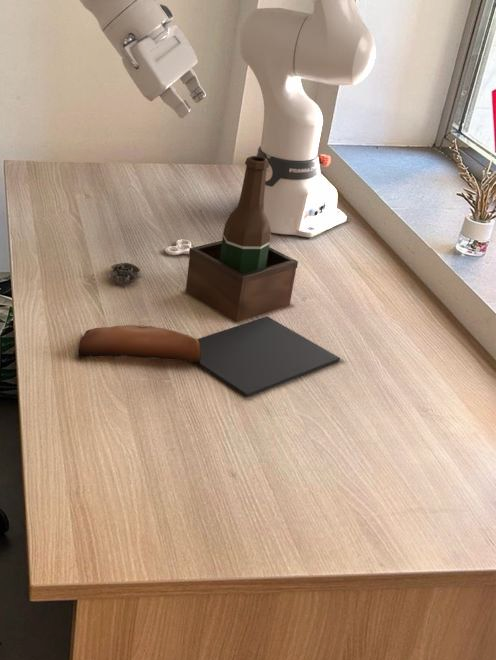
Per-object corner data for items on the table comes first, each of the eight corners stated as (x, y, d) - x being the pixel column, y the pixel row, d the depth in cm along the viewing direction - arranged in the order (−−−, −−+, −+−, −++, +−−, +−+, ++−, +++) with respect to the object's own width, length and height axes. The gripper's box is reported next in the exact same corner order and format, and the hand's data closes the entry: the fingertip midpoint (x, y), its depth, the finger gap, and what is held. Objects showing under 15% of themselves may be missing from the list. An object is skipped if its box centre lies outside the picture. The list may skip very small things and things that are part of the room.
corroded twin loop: (105, 284, 160) (105, 279, 160) (113, 265, 167) (113, 260, 166) (134, 288, 160) (134, 283, 160) (141, 269, 167) (142, 264, 166)
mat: (266, 319, 156) (267, 316, 155) (339, 361, 146) (340, 357, 146) (173, 349, 144) (174, 346, 144) (246, 397, 135) (247, 394, 134)
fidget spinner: (180, 241, 179) (180, 237, 178) (210, 250, 177) (211, 246, 176) (162, 253, 174) (162, 248, 173) (193, 262, 171) (194, 258, 171)
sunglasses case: (200, 336, 146) (203, 313, 140) (198, 377, 143) (202, 355, 137) (82, 330, 145) (80, 307, 139) (78, 370, 142) (76, 349, 136)
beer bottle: (257, 312, 157) (279, 170, 144) (211, 304, 158) (229, 162, 145) (263, 293, 164) (285, 155, 150) (218, 285, 165) (236, 147, 151)
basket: (238, 276, 169) (245, 234, 164) (290, 305, 161) (298, 261, 156) (184, 292, 161) (189, 248, 157) (236, 323, 154) (242, 277, 149)
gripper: (132, 27, 132) (193, 111, 136) (171, 4, 148) (224, 79, 152) (100, 56, 135) (160, 137, 139) (142, 31, 152) (194, 103, 156)
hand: (194, 107), depth 146 cm, fingers open, 8 cm apart
